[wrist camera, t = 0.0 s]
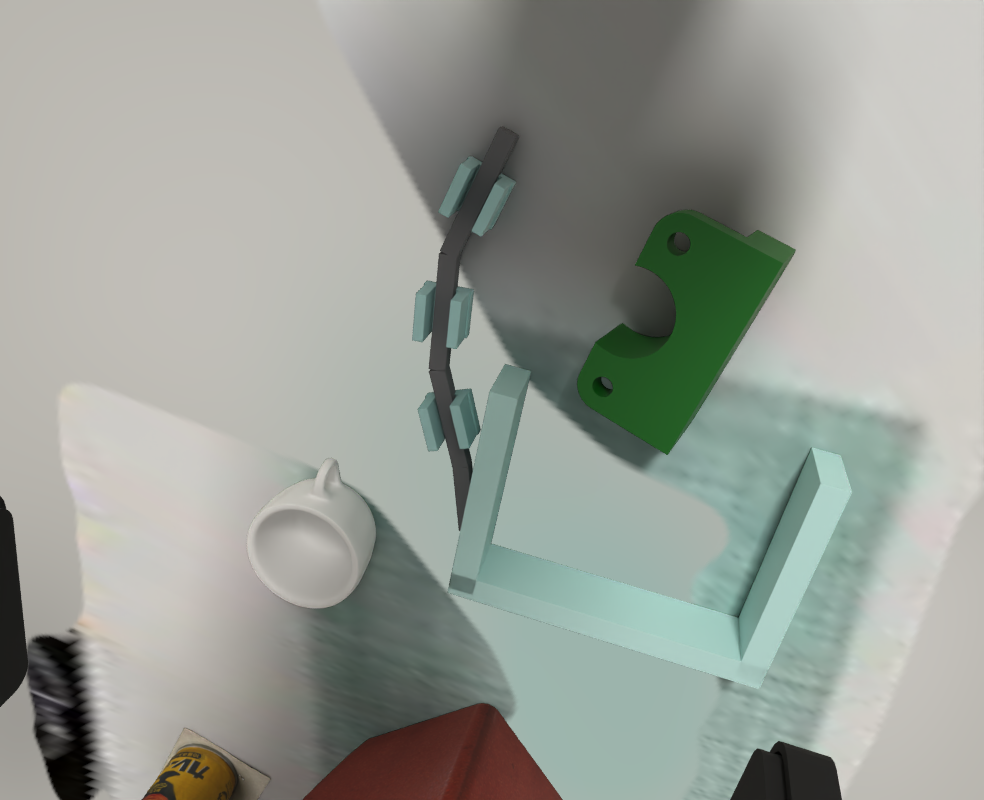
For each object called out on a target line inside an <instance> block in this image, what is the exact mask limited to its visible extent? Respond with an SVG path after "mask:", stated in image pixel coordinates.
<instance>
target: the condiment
mask: <svg viewBox="0 0 984 800" xmlns="http://www.w3.org/2000/svg"><path fill="white" fill-rule="evenodd" d="M239 774H240V775H241V776H240V775H239ZM242 778H243V779H244V780H242ZM269 781H270V778H268V777H267V776H265V775H263V774H261V773H260V772H258V771H257V770H255V769H253V768H250V767H249V766H248V765H246V764H245V763H243V762H241V761H239V760H238V759H237V758H235V757H233V756H232V755H230V754H229V753H228V752H226V751H225V750H223V749H222V748H220V747H218V746H216V745H214V744H213V743H212V742H210V741H208V740H207V739H205V738H203V737H201V736H199V735H198V734H197V733H195V732H193V731H191V730H189V729H185V728H184V729H183V731H182V733H181V735H180V737H179V739H178V741H177V743H176V745H175V747H174V749H173V750H172V752H171V754H170V756H169V758H168V760H167V761H166V763H165V765H164V767H163V769H162V771H161V773H160V775H159V776H158V778H157V779H156V781H155V782H154V784H153V785H152V786H151V787H150V789H149V790H148V791H147V794H146V795H145V796H144V798H143V799H142V800H257V799H258V798H259V796H260V795H261V793H262V792H263V790H264V789H265V787H266V786H267V784H268V782H269Z"/></svg>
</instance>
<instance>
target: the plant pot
mask: <svg viewBox="0 0 984 800" xmlns="http://www.w3.org/2000/svg"><path fill="white" fill-rule="evenodd" d="M303 800H562V798H561V797H560V795H559V794H558V793H557V791H556V790H555V788H554V787H553V786H552V784H551V783H550V782H549V780H548V779H547V777H546V776H545V775H544V773H543V772H542V770H541V769H540V768H539V766H538V765H537V764H536V762H535V761H534V760H533V758H532V757H531V755H530V754H529V753H528V752H527V750H526V748H525V747H524V746H523V744H522V743H521V742H520V740H518V738H517V736H516V735H515V733H514V732H513V731H512V729H511V728H510V727H509V725H508V724H507V722H506V721H505V720H504V718H503V717H502V715H501V714H500V713H499V711H498V710H497V709H496V708H495V707H493V706H491V705H489V704H484V703H481V704H476V705H473V706H470V707H466V708H463V709H460V710H458V711H454V712H451V713H448V714H445V715H442V716H439V717H436V718H433V719H429V720H426V721H423V722H420V723H417V724H414V725H411V726H408V727H405V728H402V729H399V730H395V731H392V732H389V733H386V734H383V735H380V736H377V737H374V738H370V739H368V740H366V741H365V742H364V743H363V744H362V745H360V746H359V747H358V748H357V749H355V750H354V751H353V752H352V753H351V754H349V755H348V756H347V757H346V758H345V759H344V760H343V761H342V762H341V763H340V764H339V765H338V766H337V767H335V768H334V769H333V770H332V771H331V772H330V773H329V774H328V775H327V776H326V777H325V778H324V779H323V780H322V781H321V782H320V783H319V784H318V785H317V786H316V787H315V788H314V789H313V790H312V791H311V792H310V793H309V794H308V795H307V796H305V797H304V799H303Z"/></svg>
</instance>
